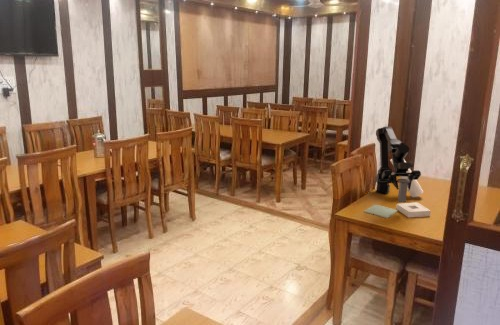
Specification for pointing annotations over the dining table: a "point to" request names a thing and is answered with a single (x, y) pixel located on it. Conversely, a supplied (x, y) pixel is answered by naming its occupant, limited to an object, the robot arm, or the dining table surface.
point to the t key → (402, 189)
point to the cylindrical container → (412, 185)
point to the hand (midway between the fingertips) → (403, 189)
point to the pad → (381, 211)
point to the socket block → (413, 209)
